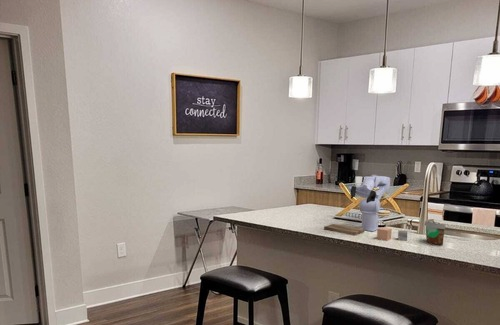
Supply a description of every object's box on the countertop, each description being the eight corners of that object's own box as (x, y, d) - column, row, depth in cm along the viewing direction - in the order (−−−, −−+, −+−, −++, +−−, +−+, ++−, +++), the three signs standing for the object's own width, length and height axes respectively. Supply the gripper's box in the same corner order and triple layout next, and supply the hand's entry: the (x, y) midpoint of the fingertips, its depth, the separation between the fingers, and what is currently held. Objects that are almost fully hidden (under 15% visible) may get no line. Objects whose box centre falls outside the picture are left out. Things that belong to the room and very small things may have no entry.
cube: (381, 237, 188) (381, 227, 187) (391, 239, 184) (391, 228, 184) (377, 239, 184) (377, 228, 183) (387, 240, 180) (387, 230, 180)
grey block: (397, 238, 186) (398, 230, 186) (406, 239, 184) (407, 231, 184) (398, 240, 182) (398, 232, 182) (407, 241, 181) (407, 232, 180)
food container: (419, 239, 185) (420, 218, 184) (432, 239, 184) (433, 219, 184) (430, 246, 172) (431, 224, 172) (444, 246, 172) (445, 224, 172)
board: (333, 226, 209) (333, 223, 209) (364, 232, 197) (364, 229, 197) (323, 229, 202) (324, 226, 202) (355, 235, 190) (355, 232, 190)
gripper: (353, 178, 198) (345, 187, 187) (382, 184, 191) (375, 195, 180) (351, 190, 200) (344, 200, 190) (379, 197, 194) (373, 208, 183)
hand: (359, 198), depth 185 cm, fingers open, 7 cm apart
